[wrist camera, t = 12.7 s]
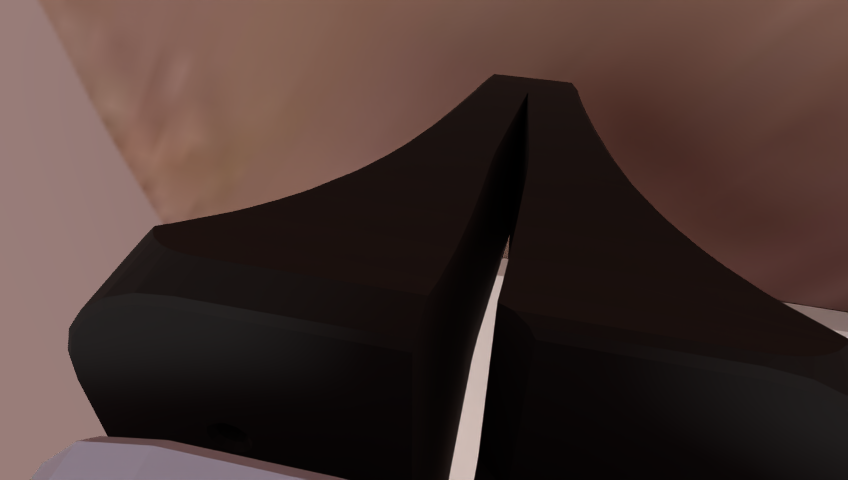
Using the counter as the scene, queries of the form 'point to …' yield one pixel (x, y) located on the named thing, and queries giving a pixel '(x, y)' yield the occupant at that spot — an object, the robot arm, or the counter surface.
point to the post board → (479, 370)
